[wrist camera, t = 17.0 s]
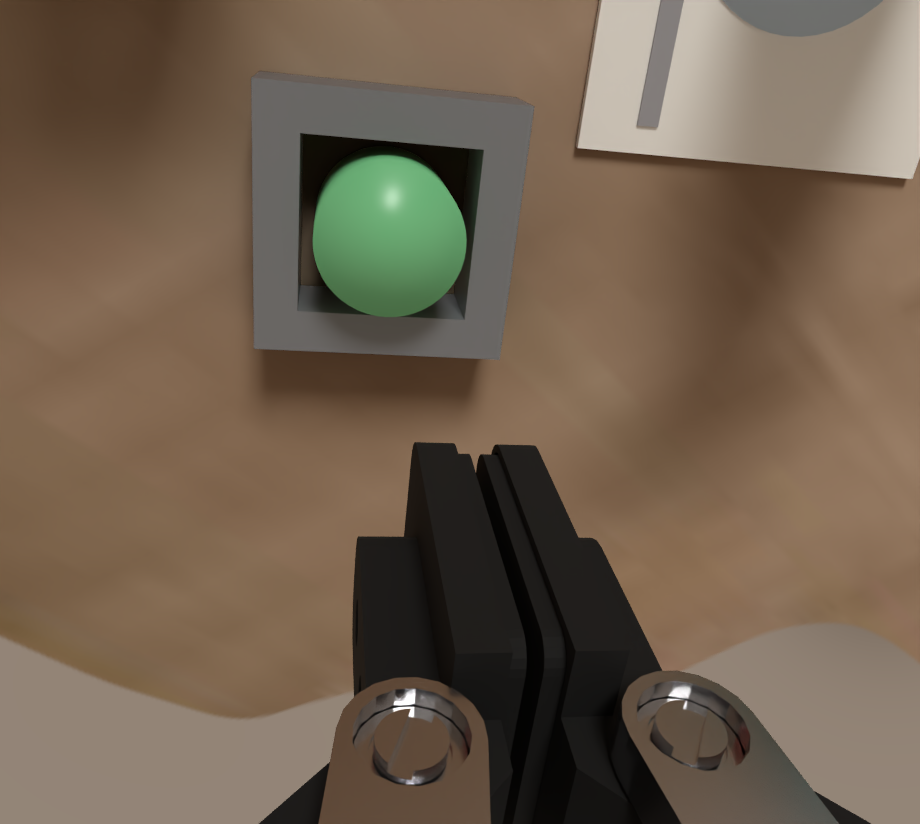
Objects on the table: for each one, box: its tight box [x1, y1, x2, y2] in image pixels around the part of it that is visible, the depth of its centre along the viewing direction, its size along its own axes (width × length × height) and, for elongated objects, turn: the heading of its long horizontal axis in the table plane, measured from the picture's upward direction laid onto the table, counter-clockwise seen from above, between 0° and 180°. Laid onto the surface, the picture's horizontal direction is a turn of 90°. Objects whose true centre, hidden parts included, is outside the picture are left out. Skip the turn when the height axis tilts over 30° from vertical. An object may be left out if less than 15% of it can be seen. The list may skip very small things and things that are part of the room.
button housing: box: [251, 71, 534, 360], centre depth 28 cm, size 9×9×3 cm
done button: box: [313, 146, 467, 317], centre depth 28 cm, size 5×5×4 cm
